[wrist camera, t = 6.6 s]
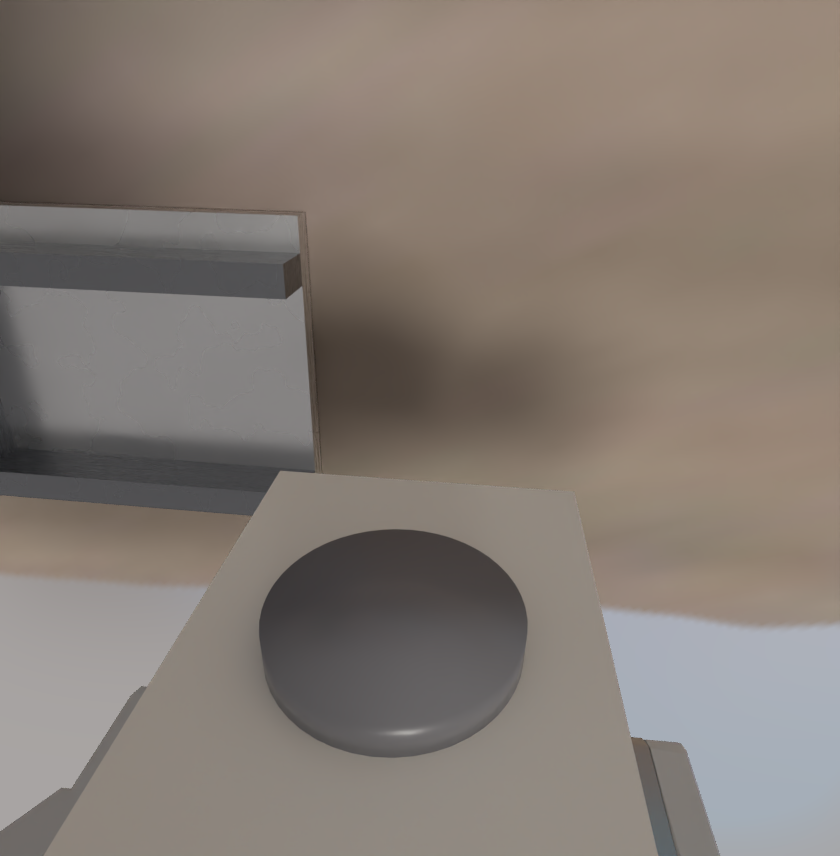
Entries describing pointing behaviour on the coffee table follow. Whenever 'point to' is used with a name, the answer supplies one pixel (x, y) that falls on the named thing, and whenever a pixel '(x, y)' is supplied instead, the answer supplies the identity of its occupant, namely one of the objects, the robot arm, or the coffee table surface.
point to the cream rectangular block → (381, 690)
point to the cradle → (154, 355)
